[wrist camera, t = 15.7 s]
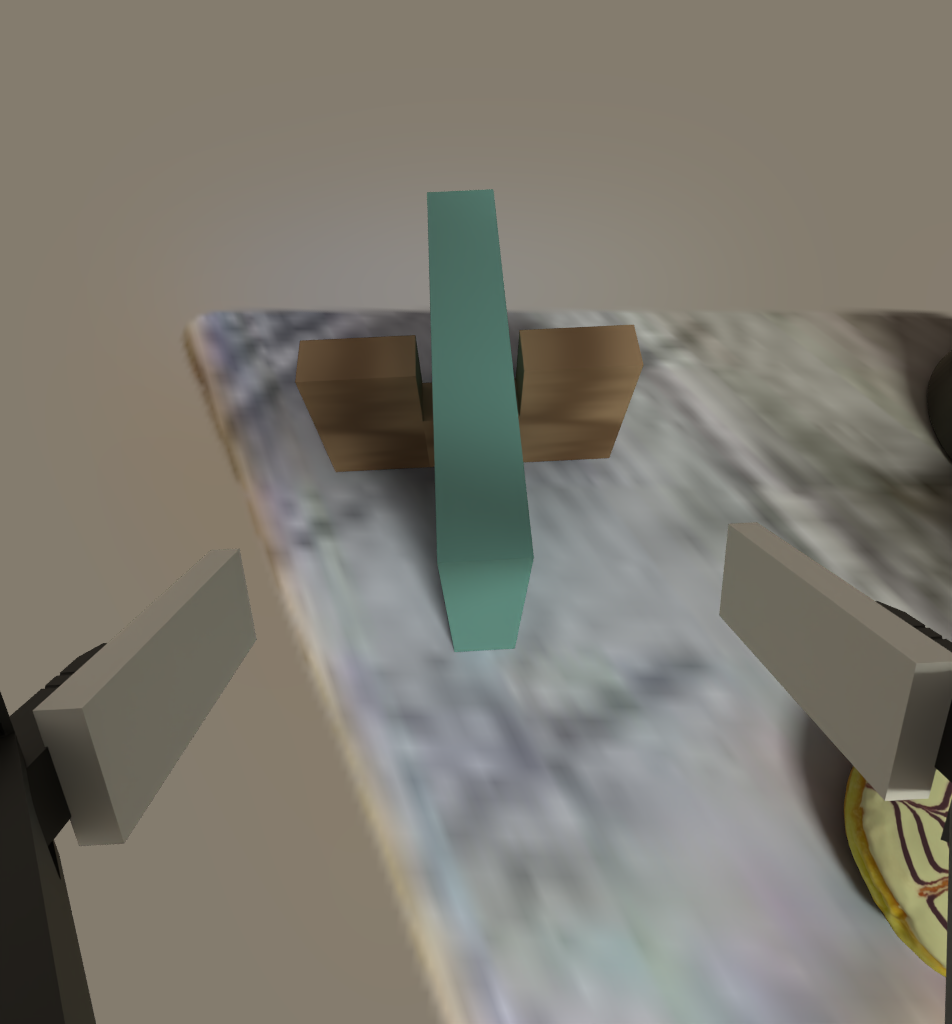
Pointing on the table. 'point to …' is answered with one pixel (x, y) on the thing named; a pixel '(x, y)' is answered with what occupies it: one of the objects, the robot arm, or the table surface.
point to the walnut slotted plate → (409, 403)
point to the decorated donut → (904, 861)
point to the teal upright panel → (475, 427)
